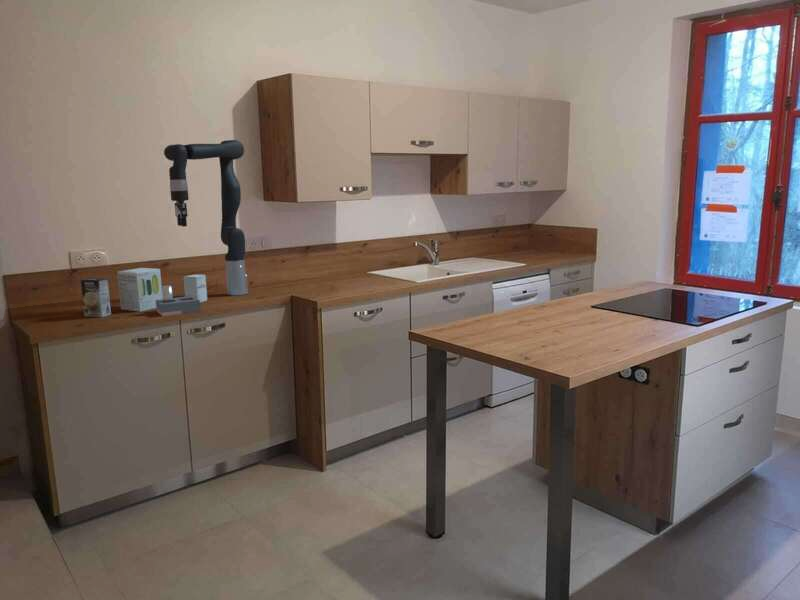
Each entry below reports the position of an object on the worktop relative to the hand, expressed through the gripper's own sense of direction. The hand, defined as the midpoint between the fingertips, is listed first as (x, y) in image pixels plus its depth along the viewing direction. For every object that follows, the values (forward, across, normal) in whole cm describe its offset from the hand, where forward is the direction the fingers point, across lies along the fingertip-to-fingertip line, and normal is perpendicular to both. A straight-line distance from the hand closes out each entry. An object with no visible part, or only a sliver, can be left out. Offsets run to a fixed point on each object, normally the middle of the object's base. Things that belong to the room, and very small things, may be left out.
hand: (182, 226), depth 289 cm
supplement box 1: (+36, +3, +20) cm, 42 cm away
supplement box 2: (+36, +3, -4) cm, 37 cm away
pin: (+35, -16, +12) cm, 40 cm away
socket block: (+36, -16, +8) cm, 40 cm away
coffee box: (+36, -3, +39) cm, 53 cm away
